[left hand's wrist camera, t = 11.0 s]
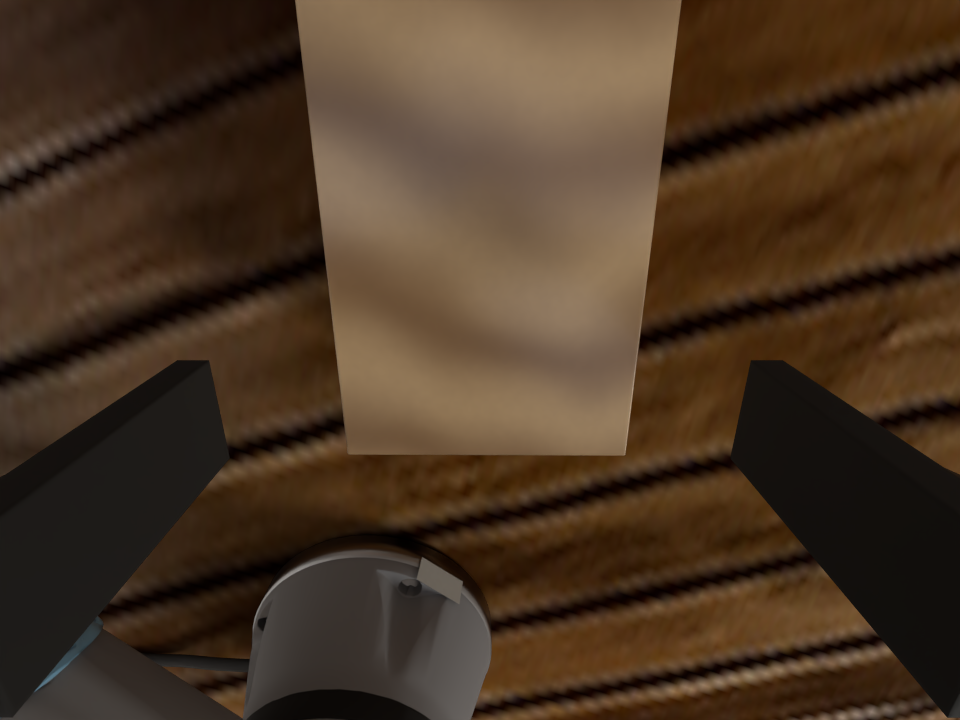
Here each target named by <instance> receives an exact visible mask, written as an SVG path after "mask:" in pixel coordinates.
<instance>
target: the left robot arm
mask: <svg viewBox="0 0 960 720" xmlns="http://www.w3.org/2000/svg"><path fill="white" fill-rule="evenodd" d="M730 458H731V460H732V461H733V462H734V463H735V464H736V466H737V467H738V468H739V469H740V470H741V472H742V473H743V474H744V475H745V476H746V477H747V479H748V480H749V481H750V482H751V483H752V485H753V486H754V487H755V488H756V489H757V491H758V492H759V493H760V494H761V495H762V497H763V498H764V499H765V500H766V501H767V503H768V504H769V505H770V506H771V507H772V509H773V510H774V511H775V512H776V513H777V515H778V516H779V517H780V518H781V519H782V521H783V522H784V523H785V524H786V525H787V526H788V528H789V529H790V530H791V531H792V532H793V534H794V535H795V536H796V537H797V538H798V540H799V541H800V542H801V543H802V544H803V546H804V547H805V548H806V549H807V550H808V552H809V553H810V554H811V555H812V556H813V558H814V559H815V560H816V561H817V562H818V564H819V565H820V566H821V567H822V568H823V570H824V571H825V572H826V573H827V574H828V575H829V577H830V578H831V579H832V580H833V581H834V583H835V584H836V585H837V586H838V587H839V589H840V590H841V591H842V592H843V593H844V595H845V596H846V597H847V598H848V599H849V601H850V602H851V603H852V604H853V605H854V607H855V608H856V609H857V610H858V611H859V613H860V614H861V615H862V616H863V617H864V619H865V620H866V621H867V622H868V623H869V624H870V626H871V627H872V628H873V629H874V630H875V632H876V633H877V634H878V635H879V636H880V638H881V639H882V640H883V641H884V642H885V644H886V645H887V646H888V647H889V648H890V650H891V651H892V652H893V653H894V654H895V656H896V657H897V658H898V659H899V660H900V662H901V663H902V664H903V665H904V666H905V668H906V669H907V670H908V671H909V672H910V674H911V675H912V676H913V677H914V678H915V679H916V681H917V682H918V683H919V684H920V685H921V687H922V688H923V689H924V690H925V691H926V693H927V694H928V695H929V696H930V697H931V699H932V700H933V701H934V702H935V703H936V705H937V706H938V707H939V708H940V709H941V711H942V712H943V713H944V714H945V715H946V717H947V718H960V475H959V474H957V473H955V472H953V471H950V470H948V469H946V468H944V467H942V466H941V465H939V464H938V463H936V462H935V461H933V460H932V459H930V458H929V457H927V456H926V455H924V454H923V453H921V452H920V451H918V450H917V449H915V448H914V447H912V446H911V445H909V444H907V443H906V442H904V441H903V440H901V439H900V438H898V437H897V436H895V435H894V434H892V433H891V432H889V431H888V430H886V429H885V428H883V427H882V426H880V425H879V424H877V423H876V422H874V421H873V420H871V419H870V418H868V417H867V416H865V415H864V414H862V413H861V412H859V411H858V410H856V409H855V408H853V407H852V406H850V405H849V404H847V403H846V402H844V401H843V400H841V399H840V398H838V397H837V396H835V395H834V394H832V393H831V392H829V391H828V390H826V389H825V388H823V387H822V386H820V385H819V384H817V383H816V382H814V381H813V380H811V379H810V378H808V377H807V376H805V375H804V374H802V373H801V372H799V371H798V370H796V369H795V368H793V367H792V366H790V365H789V364H787V363H786V362H784V361H783V360H751V363H750V368H749V373H748V377H747V382H746V387H745V392H744V396H743V401H742V406H741V410H740V415H739V420H738V425H737V429H736V434H735V439H734V443H733V448H732V453H731V457H730ZM228 460H229V453H228V448H227V443H226V439H225V434H224V429H223V425H222V420H221V415H220V410H219V406H218V401H217V396H216V392H215V387H214V382H213V377H212V373H211V368H210V363H209V360H177V361H176V362H174V363H173V364H171V365H170V366H168V367H167V368H165V369H164V370H162V371H161V372H159V373H158V374H156V375H155V376H153V377H152V378H150V379H149V380H147V381H146V382H144V383H143V384H141V385H140V386H138V387H137V388H135V389H134V390H132V391H131V392H129V393H128V394H126V395H125V396H123V397H122V398H120V399H119V400H117V401H116V402H114V403H113V404H111V405H110V406H108V407H107V408H105V409H104V410H102V411H101V412H99V413H98V414H96V415H95V416H93V417H92V418H90V419H89V420H87V421H86V422H84V423H83V424H81V425H80V426H78V427H77V428H75V429H74V430H72V431H71V432H69V433H68V434H66V435H65V436H63V437H62V438H60V439H59V440H57V441H56V442H54V443H53V444H51V445H49V446H48V447H46V448H45V449H43V450H42V451H40V452H39V453H37V454H36V455H34V456H33V457H31V458H30V459H28V460H27V461H25V462H24V463H22V464H21V465H19V466H18V467H16V468H15V469H13V470H12V471H10V472H9V473H7V474H6V475H4V476H1V477H0V720H471V717H472V714H473V711H474V708H475V705H476V702H477V699H478V696H479V693H480V690H481V687H482V684H483V681H484V678H485V675H486V673H487V671H488V668H489V664H490V659H491V618H490V612H489V608H488V605H487V602H486V600H485V597H484V595H483V593H482V592H481V590H480V588H479V587H478V585H477V584H476V583H475V581H474V580H473V579H472V578H471V577H470V576H469V574H468V573H466V572H465V571H464V570H463V569H462V568H461V567H460V566H459V565H457V564H456V563H455V562H453V561H452V560H451V559H449V558H447V557H446V556H444V555H443V554H441V553H439V552H437V551H435V550H433V549H431V548H428V547H426V546H423V545H421V544H418V543H415V542H412V541H408V540H404V539H400V538H394V537H388V536H377V535H359V536H348V537H342V538H337V539H333V540H328V541H325V542H322V543H319V544H317V545H314V546H312V547H310V548H308V549H306V550H304V551H302V552H301V553H299V554H298V555H296V556H295V557H293V558H292V559H291V560H289V561H288V562H287V563H286V564H285V565H284V566H283V567H282V568H281V569H280V570H279V572H278V573H277V574H276V576H275V577H274V579H273V580H272V582H271V584H270V586H269V588H268V590H267V592H266V594H265V596H264V598H263V600H262V602H261V604H260V606H259V608H258V610H257V613H256V616H255V619H254V624H253V636H252V651H251V656H250V659H235V658H217V657H206V656H196V655H180V654H150V653H140V652H138V651H137V650H135V649H134V648H132V647H131V646H129V645H127V644H126V643H124V642H123V641H121V640H120V639H118V638H117V637H115V636H113V635H112V634H110V633H109V632H107V631H106V630H104V629H103V621H102V620H101V619H100V618H99V617H98V615H99V614H100V613H101V611H102V610H103V609H104V608H105V607H106V605H107V604H108V603H109V602H110V601H111V599H112V598H113V597H114V596H115V595H116V593H117V592H118V591H119V590H120V589H121V587H122V586H123V585H124V584H125V583H126V581H127V580H128V579H129V578H130V577H131V575H132V574H133V573H134V572H135V571H136V570H137V568H138V567H139V566H140V565H141V564H142V562H143V561H144V560H145V559H146V558H147V556H148V555H149V554H150V553H151V552H152V550H153V549H154V548H155V547H156V546H157V544H158V543H159V542H160V541H161V540H162V538H163V537H164V536H165V535H166V534H167V532H168V531H169V530H170V529H171V528H172V526H173V525H174V524H175V523H176V522H177V521H178V519H179V518H180V517H181V516H182V515H183V513H184V512H185V511H186V510H187V509H188V507H189V506H190V505H191V504H192V503H193V501H194V500H195V499H196V498H197V497H198V495H199V494H200V493H201V492H202V491H203V489H204V488H205V487H206V486H207V485H208V483H209V482H210V481H211V480H212V479H213V477H214V476H215V475H216V474H217V473H218V472H219V470H220V469H221V468H222V467H223V466H224V464H225V463H226V462H227V461H228ZM162 666H166V667H187V668H197V669H206V670H218V671H234V672H248V679H247V688H246V697H245V706H244V714H243V719H242V718H241V717H239V716H238V715H236V714H235V713H233V712H231V711H230V710H228V709H227V708H225V707H224V706H222V705H221V704H219V703H217V702H216V701H214V700H213V699H211V698H210V697H208V696H207V695H205V694H203V693H202V692H200V691H199V690H197V689H196V688H194V687H193V686H191V685H190V684H188V683H186V682H185V681H183V680H182V679H180V678H179V677H177V676H176V675H174V674H172V673H171V672H169V671H168V670H166V669H165V668H163V667H162Z"/></svg>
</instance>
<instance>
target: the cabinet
mask: <svg viewBox="0 0 960 720" xmlns="http://www.w3.org/2000/svg"><path fill="white" fill-rule="evenodd" d="M295 3H296V12H297V20H298V29H299V37H300V46H301V55H302V63H303V72H304V81H305V89H306V98H307V106H308V115H309V124H310V132H311V141H312V149H313V158H314V167H315V175H316V184H317V192H318V201H319V210H320V218H321V227H322V236H323V244H324V253H325V261H326V270H327V279H328V287H329V296H330V304H331V313H332V322H333V330H334V339H335V347H336V356H337V365H338V373H339V382H340V391H341V399H342V408H343V416H344V425H345V434H346V442H347V451H348V454H384V455H625V453H626V445H627V437H628V428H629V420H630V412H631V404H632V396H633V388H634V380H635V372H636V364H637V356H638V347H639V339H640V331H641V323H642V315H643V307H644V299H645V291H646V283H647V275H648V266H649V258H650V250H651V242H652V234H653V226H654V218H655V210H656V202H657V194H658V185H659V177H660V169H661V161H662V153H663V145H664V137H665V129H666V121H667V113H668V104H669V96H670V88H671V80H672V72H673V64H674V56H675V48H676V40H677V32H678V23H679V15H680V7H681V0H295Z"/></svg>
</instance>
